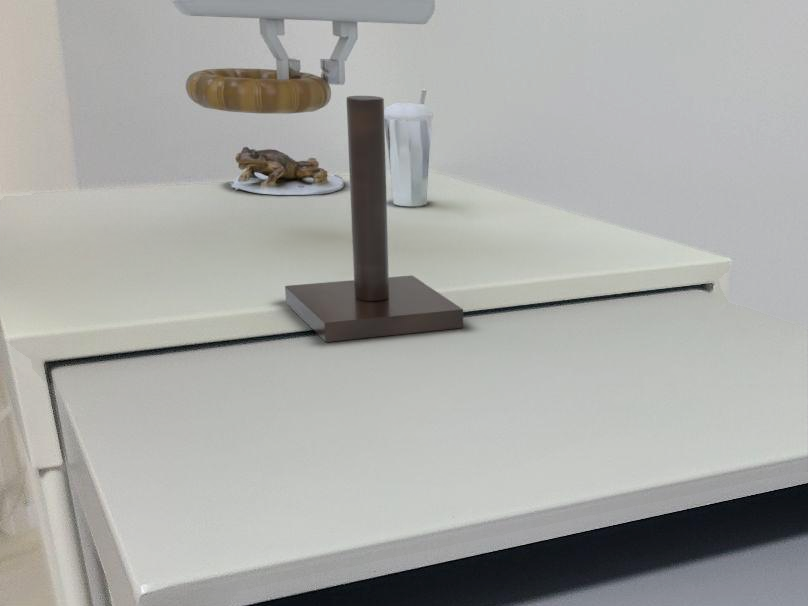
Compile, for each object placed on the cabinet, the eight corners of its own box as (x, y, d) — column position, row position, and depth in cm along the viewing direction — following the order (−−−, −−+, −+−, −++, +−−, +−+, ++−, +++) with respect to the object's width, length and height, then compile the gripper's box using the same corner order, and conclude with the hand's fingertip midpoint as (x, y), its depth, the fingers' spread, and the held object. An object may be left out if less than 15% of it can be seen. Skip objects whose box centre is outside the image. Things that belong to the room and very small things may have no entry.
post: (325, 342, 64) (312, 107, 58) (285, 303, 71) (270, 89, 65) (463, 327, 68) (464, 105, 62) (412, 292, 75) (409, 89, 69)
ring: (205, 115, 78) (202, 79, 77) (177, 98, 87) (174, 65, 85) (347, 115, 83) (346, 81, 82) (308, 99, 91) (306, 68, 90)
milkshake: (446, 201, 105) (445, 91, 100) (418, 210, 101) (416, 95, 96) (406, 196, 107) (404, 87, 102) (376, 204, 102) (373, 91, 98)
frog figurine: (267, 200, 102) (263, 158, 100) (207, 181, 110) (203, 141, 108) (367, 189, 109) (366, 150, 107) (304, 172, 117) (302, 134, 115)
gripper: (418, -105, 86) (418, 81, 92) (153, -130, 77) (173, 78, 84) (448, -108, 81) (446, 89, 88) (169, -134, 72) (189, 86, 79)
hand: (311, 83), depth 86 cm, fingers closed on ring, 2 cm apart
